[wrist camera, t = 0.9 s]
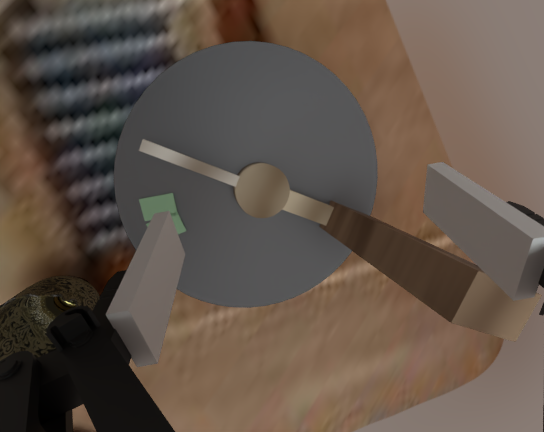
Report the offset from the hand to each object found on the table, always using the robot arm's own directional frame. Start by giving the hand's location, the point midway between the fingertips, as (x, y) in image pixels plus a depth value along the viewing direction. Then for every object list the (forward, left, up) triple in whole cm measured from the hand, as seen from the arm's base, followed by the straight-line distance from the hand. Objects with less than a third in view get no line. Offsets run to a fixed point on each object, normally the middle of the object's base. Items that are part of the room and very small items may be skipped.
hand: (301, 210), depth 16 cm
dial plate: (+1, 0, -17) cm, 17 cm away
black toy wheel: (+5, -20, -17) cm, 26 cm away
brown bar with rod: (+2, +1, -15) cm, 15 cm away
